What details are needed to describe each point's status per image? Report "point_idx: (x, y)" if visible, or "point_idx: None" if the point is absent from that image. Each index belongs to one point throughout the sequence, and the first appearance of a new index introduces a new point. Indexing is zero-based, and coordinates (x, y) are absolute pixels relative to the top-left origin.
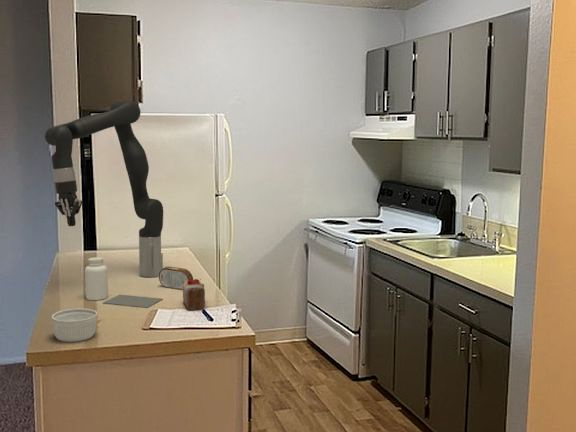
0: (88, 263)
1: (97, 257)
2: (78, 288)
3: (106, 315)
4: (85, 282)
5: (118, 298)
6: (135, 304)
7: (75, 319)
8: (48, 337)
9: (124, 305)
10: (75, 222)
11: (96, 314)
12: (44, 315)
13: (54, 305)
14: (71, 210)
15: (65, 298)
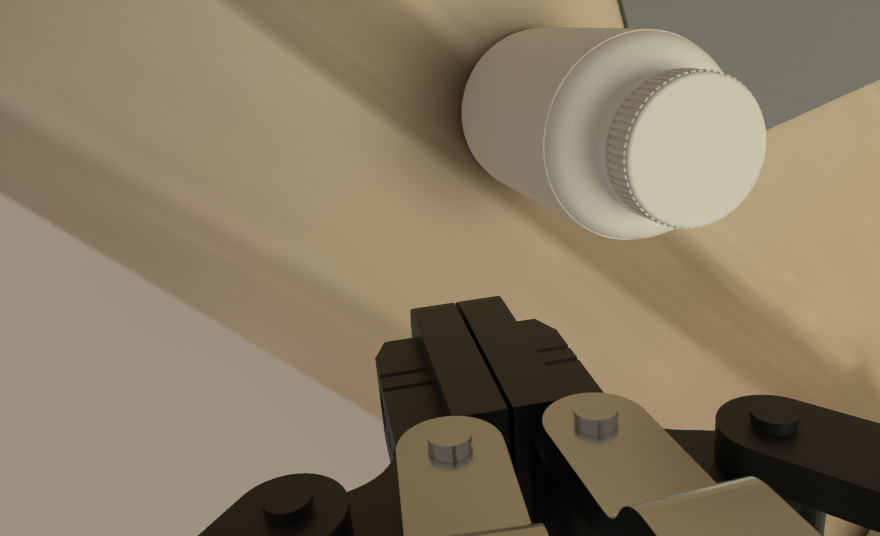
0: (627, 205)
1: (674, 102)
2: (169, 17)
3: (838, 301)
4: (546, 207)
5: (677, 33)
6: (850, 59)
7: None
8: None
9: (802, 112)
10: (559, 337)
11: None
12: None
13: None
14: (528, 518)
15: (372, 269)
